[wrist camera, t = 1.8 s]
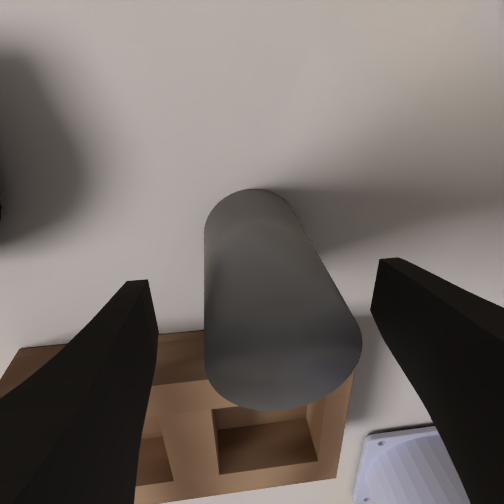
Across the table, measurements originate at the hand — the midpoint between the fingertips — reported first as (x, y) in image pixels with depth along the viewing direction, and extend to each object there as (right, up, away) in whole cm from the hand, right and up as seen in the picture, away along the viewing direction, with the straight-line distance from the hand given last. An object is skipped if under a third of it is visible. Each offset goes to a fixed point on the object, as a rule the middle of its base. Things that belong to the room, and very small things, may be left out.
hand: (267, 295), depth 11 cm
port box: (-4, -6, +8) cm, 11 cm away
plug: (-1, +2, +4) cm, 4 cm away
